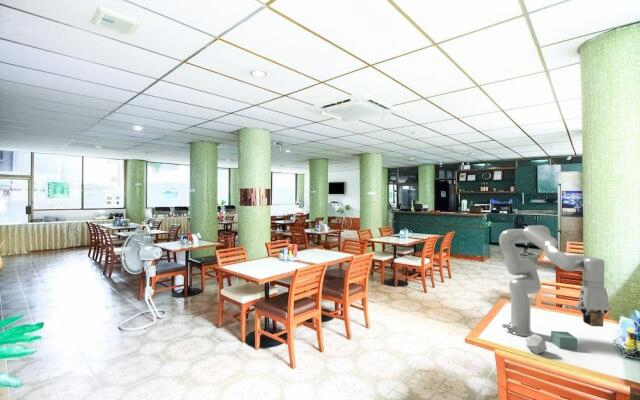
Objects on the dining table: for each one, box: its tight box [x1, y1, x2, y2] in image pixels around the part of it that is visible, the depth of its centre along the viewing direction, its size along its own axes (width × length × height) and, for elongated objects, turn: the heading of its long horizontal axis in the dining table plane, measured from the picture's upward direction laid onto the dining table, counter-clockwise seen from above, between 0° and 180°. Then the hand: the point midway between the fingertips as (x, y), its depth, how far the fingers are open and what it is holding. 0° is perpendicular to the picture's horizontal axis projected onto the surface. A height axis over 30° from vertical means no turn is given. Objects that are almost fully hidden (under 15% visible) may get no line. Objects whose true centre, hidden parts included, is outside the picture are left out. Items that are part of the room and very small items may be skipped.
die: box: [524, 333, 547, 355], centre depth 159 cm, size 8×9×10 cm
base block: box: [550, 330, 578, 350], centre depth 167 cm, size 8×8×6 cm
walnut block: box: [583, 310, 604, 328], centre depth 148 cm, size 5×5×6 cm
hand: (593, 322), depth 148 cm, fingers closed on walnut block, 5 cm apart
